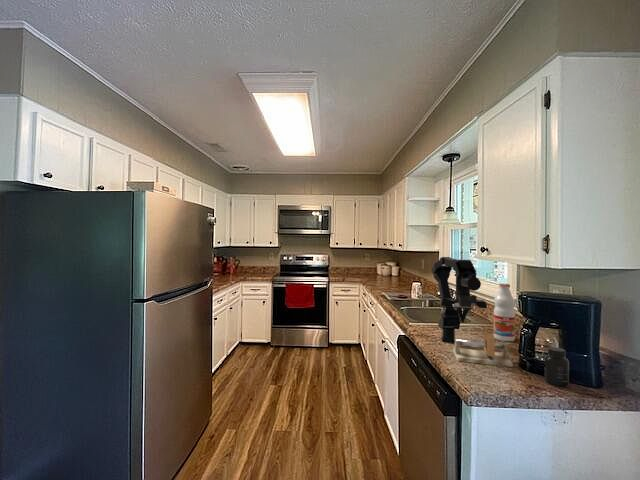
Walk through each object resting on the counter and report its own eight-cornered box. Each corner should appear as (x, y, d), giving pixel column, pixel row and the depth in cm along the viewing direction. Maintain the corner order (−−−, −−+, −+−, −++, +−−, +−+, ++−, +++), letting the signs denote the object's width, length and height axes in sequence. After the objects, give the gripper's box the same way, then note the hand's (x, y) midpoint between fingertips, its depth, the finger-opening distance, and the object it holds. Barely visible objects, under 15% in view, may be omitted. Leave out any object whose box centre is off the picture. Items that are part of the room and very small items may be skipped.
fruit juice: (513, 337, 161) (514, 283, 161) (516, 342, 152) (516, 285, 152) (493, 335, 165) (493, 282, 165) (494, 340, 156) (494, 284, 157)
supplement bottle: (539, 379, 111) (539, 345, 111) (557, 378, 112) (557, 345, 112) (555, 388, 104) (555, 352, 104) (574, 387, 105) (574, 352, 105)
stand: (457, 361, 127) (457, 344, 127) (453, 351, 139) (453, 335, 139) (512, 366, 122) (512, 349, 122) (503, 356, 134) (503, 339, 134)
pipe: (455, 346, 132) (456, 339, 132) (454, 344, 135) (455, 337, 135) (508, 351, 127) (508, 344, 127) (506, 348, 129) (506, 342, 129)
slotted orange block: (488, 356, 127) (488, 337, 127) (484, 350, 133) (484, 332, 134) (494, 356, 126) (494, 337, 126) (490, 350, 133) (490, 333, 133)
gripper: (442, 288, 135) (442, 324, 135) (490, 291, 130) (490, 328, 130) (439, 285, 146) (439, 318, 145) (483, 287, 141) (483, 321, 140)
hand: (462, 321), depth 140 cm, fingers closed
